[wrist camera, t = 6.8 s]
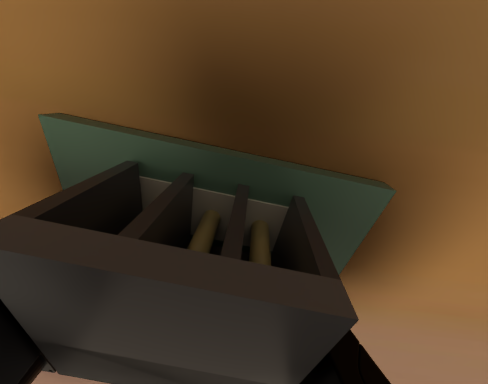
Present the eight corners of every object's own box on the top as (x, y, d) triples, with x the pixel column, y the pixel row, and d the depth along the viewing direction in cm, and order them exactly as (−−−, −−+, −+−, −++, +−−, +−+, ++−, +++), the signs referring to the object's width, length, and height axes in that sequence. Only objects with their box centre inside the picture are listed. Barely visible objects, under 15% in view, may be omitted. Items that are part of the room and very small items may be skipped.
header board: (267, 367, 17) (269, 433, 14) (122, 340, 17) (87, 400, 13) (383, 182, 8) (480, 248, 4) (59, 112, 7) (-108, 125, 4)
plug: (267, 288, 10) (271, 413, 6) (140, 263, 10) (59, 373, 6) (304, 197, 7) (358, 320, 3) (126, 160, 7) (-45, 240, 3)
